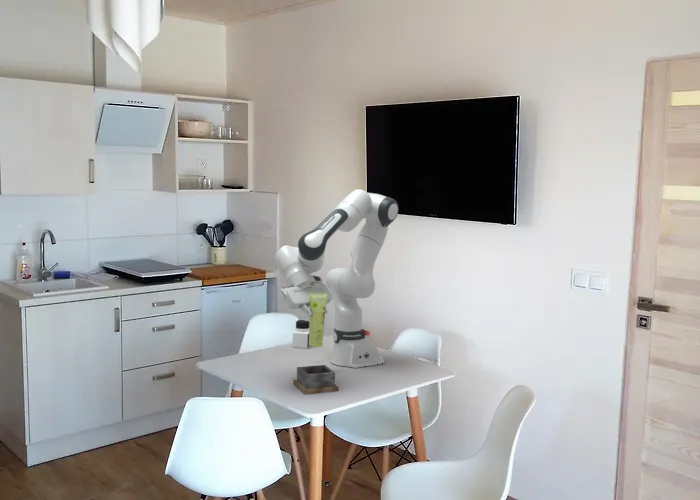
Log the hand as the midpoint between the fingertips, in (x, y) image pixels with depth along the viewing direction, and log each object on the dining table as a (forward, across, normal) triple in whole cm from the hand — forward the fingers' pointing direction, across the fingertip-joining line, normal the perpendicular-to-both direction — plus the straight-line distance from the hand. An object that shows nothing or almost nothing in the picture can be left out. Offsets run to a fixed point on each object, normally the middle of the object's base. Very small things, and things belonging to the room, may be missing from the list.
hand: (318, 314), depth 246 cm
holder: (+19, 0, +20) cm, 27 cm away
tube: (+8, -1, +9) cm, 12 cm away
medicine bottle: (-14, +37, +53) cm, 66 cm away
